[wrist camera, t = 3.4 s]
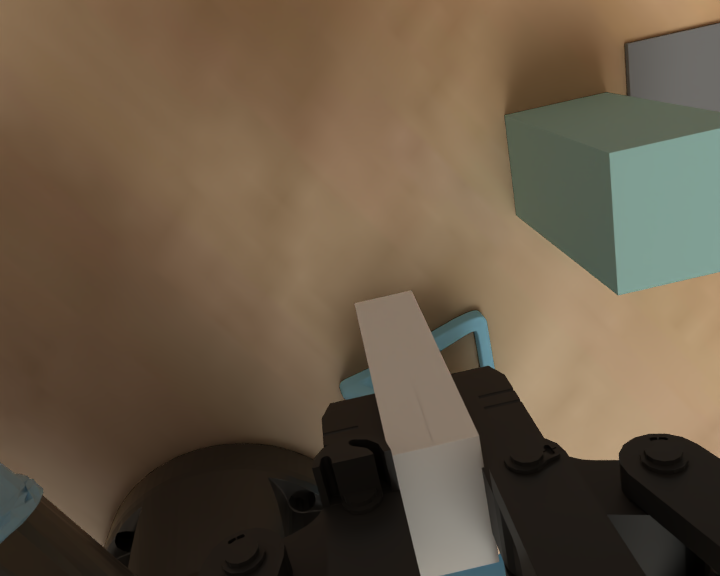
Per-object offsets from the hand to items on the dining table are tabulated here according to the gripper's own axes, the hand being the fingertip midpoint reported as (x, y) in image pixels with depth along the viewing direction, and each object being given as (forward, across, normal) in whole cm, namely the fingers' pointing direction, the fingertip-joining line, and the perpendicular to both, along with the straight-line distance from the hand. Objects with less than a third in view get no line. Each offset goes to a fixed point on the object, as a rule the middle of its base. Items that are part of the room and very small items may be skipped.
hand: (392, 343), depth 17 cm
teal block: (+16, +11, 0) cm, 19 cm away
